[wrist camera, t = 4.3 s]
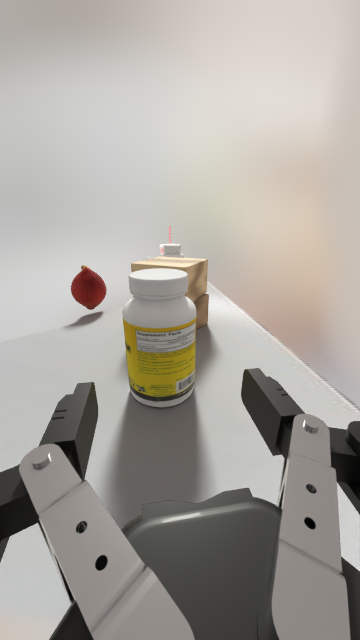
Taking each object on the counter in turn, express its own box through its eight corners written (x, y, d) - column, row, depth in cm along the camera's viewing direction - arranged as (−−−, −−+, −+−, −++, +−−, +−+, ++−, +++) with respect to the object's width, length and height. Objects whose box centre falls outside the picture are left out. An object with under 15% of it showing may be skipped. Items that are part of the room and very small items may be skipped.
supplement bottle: (188, 287, 60) (188, 244, 56) (175, 292, 55) (175, 246, 51) (169, 284, 62) (169, 243, 59) (156, 289, 58) (155, 245, 54)
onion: (103, 302, 48) (98, 261, 45) (112, 310, 44) (107, 266, 41) (72, 307, 45) (64, 264, 42) (78, 316, 41) (70, 269, 38)
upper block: (185, 307, 31) (186, 267, 29) (133, 299, 34) (131, 263, 32) (206, 292, 37) (207, 259, 36) (161, 286, 41) (160, 256, 39)
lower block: (173, 342, 32) (172, 307, 31) (135, 327, 37) (132, 296, 35) (207, 324, 38) (208, 294, 36) (170, 313, 43) (169, 286, 41)
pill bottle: (139, 368, 26) (132, 266, 22) (195, 371, 26) (199, 267, 22) (120, 408, 21) (105, 280, 17) (192, 413, 20) (195, 282, 16)
